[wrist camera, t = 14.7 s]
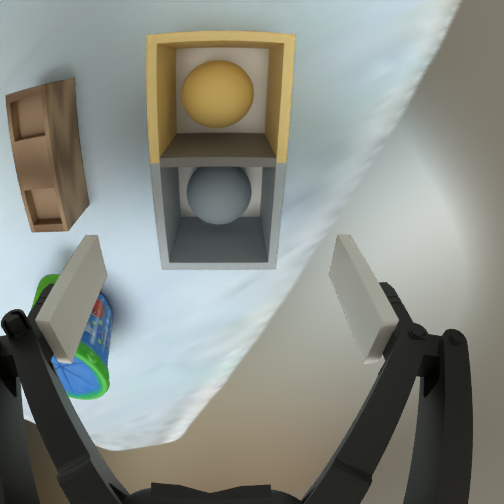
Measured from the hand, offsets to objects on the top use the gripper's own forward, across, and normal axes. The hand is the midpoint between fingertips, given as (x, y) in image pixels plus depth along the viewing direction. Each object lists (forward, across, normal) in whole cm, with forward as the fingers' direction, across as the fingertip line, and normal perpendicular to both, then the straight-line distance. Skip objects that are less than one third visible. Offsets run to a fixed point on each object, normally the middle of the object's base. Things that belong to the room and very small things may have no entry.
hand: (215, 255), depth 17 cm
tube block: (+12, 0, +4) cm, 12 cm away
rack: (+12, -14, +4) cm, 19 cm away
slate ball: (+11, 0, 0) cm, 11 cm away
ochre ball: (+11, 0, +8) cm, 13 cm away
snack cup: (+12, -16, -15) cm, 25 cm away
